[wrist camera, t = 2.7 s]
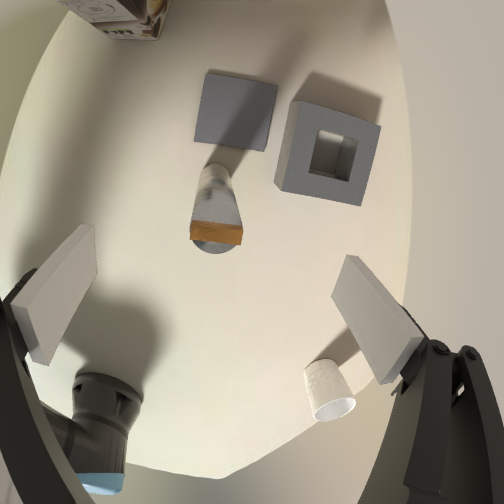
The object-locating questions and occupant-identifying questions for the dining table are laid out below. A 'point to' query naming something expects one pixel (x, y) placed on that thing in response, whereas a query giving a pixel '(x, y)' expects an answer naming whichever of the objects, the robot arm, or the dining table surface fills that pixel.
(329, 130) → the block
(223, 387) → the dining table surface
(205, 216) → the grey long rod
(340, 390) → the white cup
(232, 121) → the mat
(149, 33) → the coffee box
